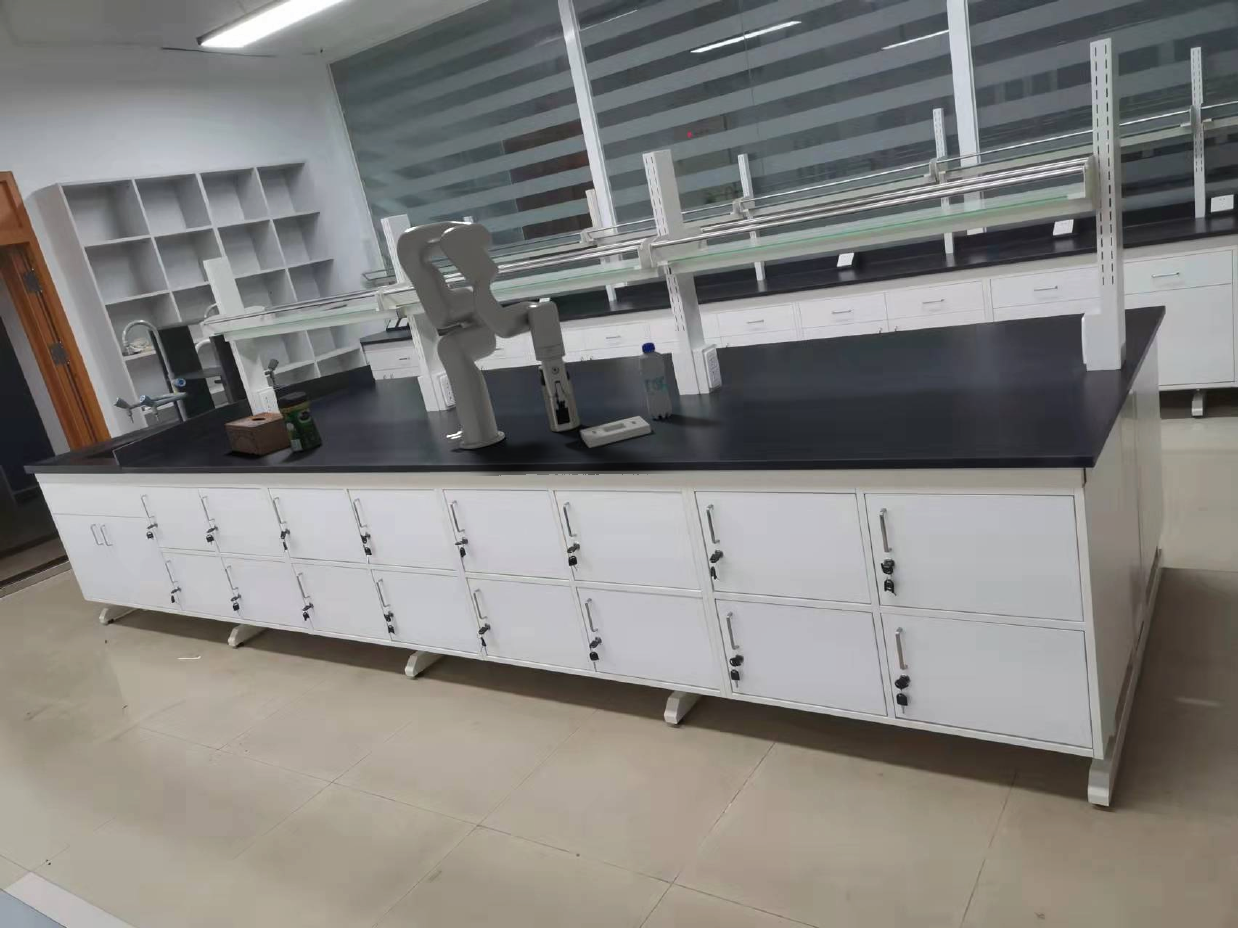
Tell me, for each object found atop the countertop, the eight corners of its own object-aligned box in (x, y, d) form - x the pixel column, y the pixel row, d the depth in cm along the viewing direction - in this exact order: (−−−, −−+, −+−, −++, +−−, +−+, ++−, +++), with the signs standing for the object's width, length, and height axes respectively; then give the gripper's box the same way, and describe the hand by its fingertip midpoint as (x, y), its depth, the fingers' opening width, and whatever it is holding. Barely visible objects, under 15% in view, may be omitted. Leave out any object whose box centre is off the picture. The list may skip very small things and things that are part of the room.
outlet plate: (589, 447, 217) (587, 439, 216) (581, 437, 228) (579, 429, 228) (651, 432, 219) (649, 424, 219) (640, 423, 231) (639, 415, 230)
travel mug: (553, 434, 238) (539, 369, 233) (550, 428, 246) (535, 365, 241) (582, 427, 239) (568, 363, 234) (577, 421, 247) (564, 359, 242)
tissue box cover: (233, 451, 312) (224, 424, 309) (272, 438, 321) (263, 412, 319) (262, 455, 293) (252, 427, 291) (302, 441, 303) (293, 414, 300)
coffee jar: (311, 443, 295) (294, 390, 290) (326, 443, 290) (310, 388, 285) (287, 453, 287) (270, 398, 282) (303, 452, 283) (285, 397, 278)
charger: (557, 431, 225) (551, 400, 222) (555, 427, 228) (549, 397, 226) (572, 427, 225) (567, 397, 223) (570, 424, 229) (564, 394, 227)
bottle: (656, 413, 237) (642, 341, 231) (678, 412, 233) (664, 338, 228) (644, 421, 232) (629, 347, 226) (666, 420, 228) (652, 344, 222)
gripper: (569, 354, 213) (582, 426, 219) (559, 344, 229) (572, 411, 235) (539, 360, 212) (552, 432, 218) (531, 349, 228) (544, 417, 234)
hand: (562, 420), depth 226 cm, fingers closed on charger, 4 cm apart
